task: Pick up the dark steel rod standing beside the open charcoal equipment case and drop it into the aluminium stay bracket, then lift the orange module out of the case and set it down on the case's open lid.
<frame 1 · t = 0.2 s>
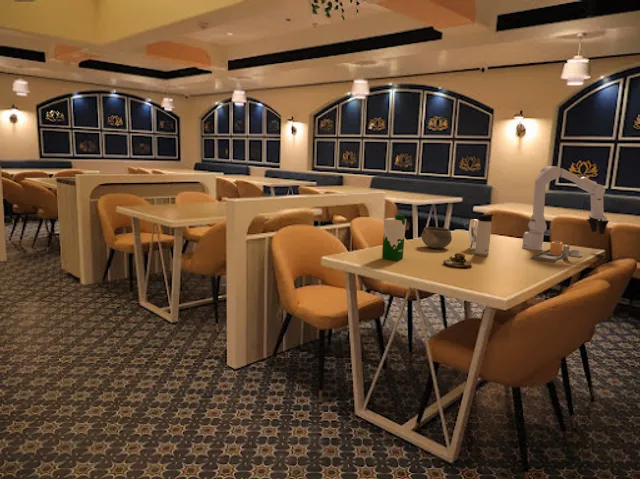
hand: (597, 232, 260), 10 cm above the table, tool pointing down, fingers open, 7 cm apart
beer glass: (474, 249, 258), on the table
bowl: (436, 248, 255), on the table
travel mug: (481, 255, 241), on the table
rod: (564, 260, 236), on the table
bracket: (574, 256, 247), on the table
milk carton: (392, 259, 223), on the table
case: (555, 255, 248), on the table
module: (555, 254, 248), point 1 cm above the table, touching case
burger: (457, 266, 214), on the table
lid: (546, 259, 237), on the table
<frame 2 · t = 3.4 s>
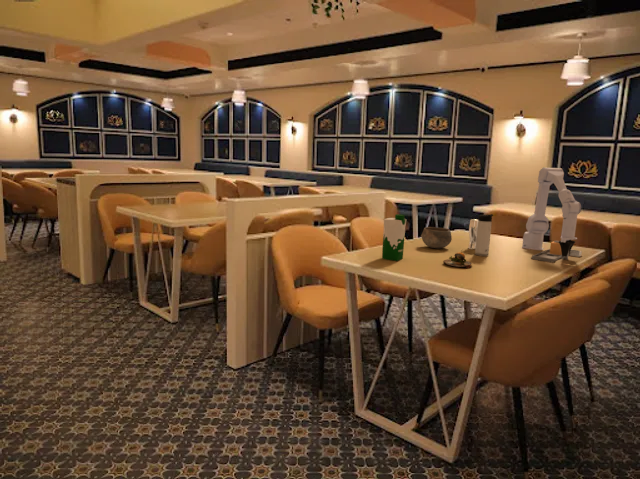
hand: (565, 255, 236), 2 cm above the table, tool pointing down, fingers closed on rod, 3 cm apart
rod: (564, 260, 236), on the table, touching gripper
everything else where it was.
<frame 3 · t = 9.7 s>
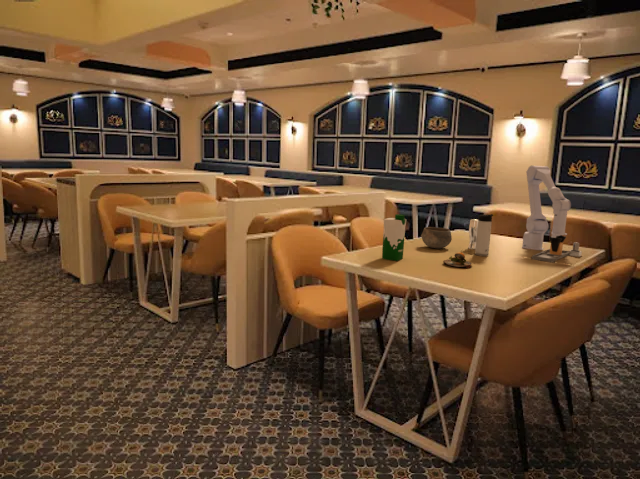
hand: (556, 250, 248), 2 cm above the table, tool pointing down, fingers closed on module, 4 cm apart
rod: (574, 256, 247), resting in bracket
module: (555, 254, 248), point 1 cm above the table, touching case, gripper
everything else where it was.
when the fingers open (4 cm above the table, at t = 13.0 s): module stays where it is, resting on lid.
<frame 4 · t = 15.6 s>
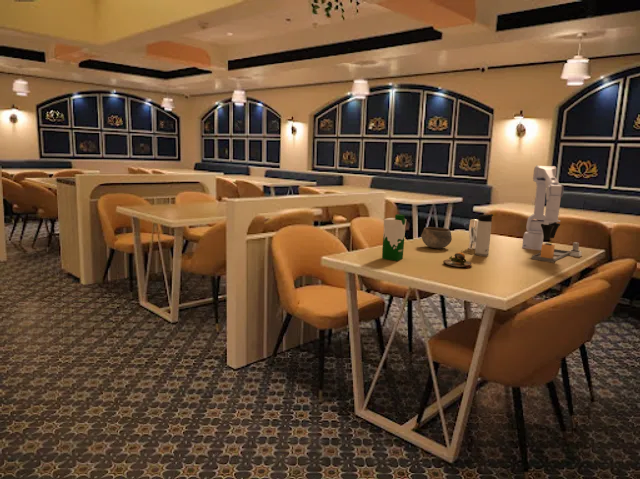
hand: (548, 238, 236), 10 cm above the table, tool pointing down, fingers open, 7 cm apart
module: (546, 257, 237), point 1 cm above the table, touching lid
everything else where it was.
at the end: rod 0.1 cm off-centre on the bracket, point 0.0 cm above the bracket's base; module inside the target area on the lid (0.1 cm from its centre), point 1.0 cm above the lid's base; module tilted 0° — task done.
